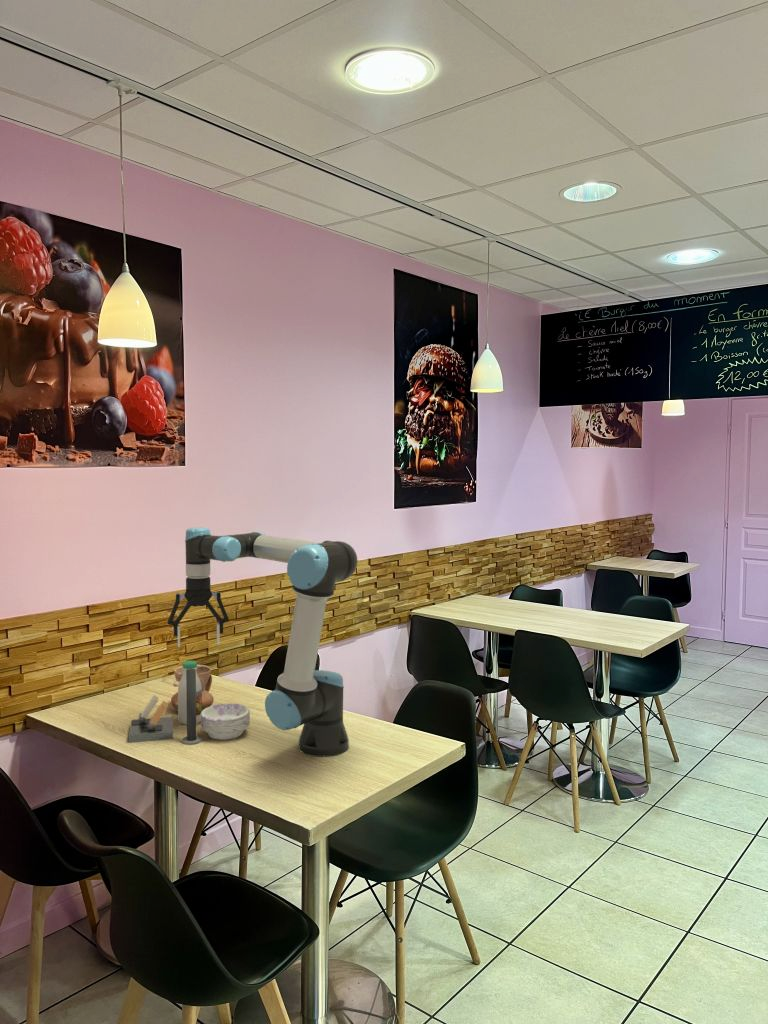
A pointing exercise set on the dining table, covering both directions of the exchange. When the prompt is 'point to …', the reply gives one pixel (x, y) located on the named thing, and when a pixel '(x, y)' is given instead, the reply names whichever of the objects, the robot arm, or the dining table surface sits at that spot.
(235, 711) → the paper bowls
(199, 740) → the post
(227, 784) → the dining table surface
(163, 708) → the orange rounded bar
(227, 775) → the dining table surface
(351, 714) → the dining table surface
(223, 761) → the dining table surface
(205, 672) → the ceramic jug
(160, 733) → the panel
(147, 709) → the paddle
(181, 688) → the milk bottle
